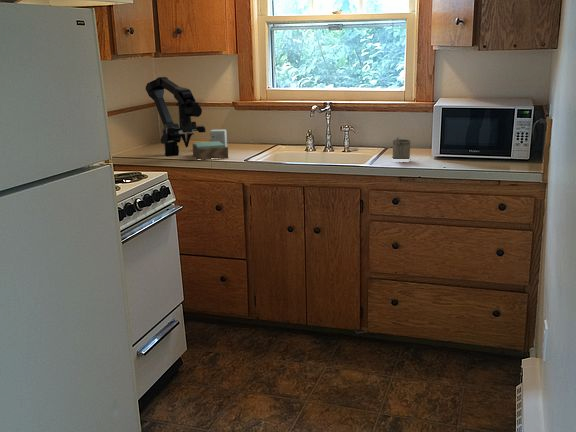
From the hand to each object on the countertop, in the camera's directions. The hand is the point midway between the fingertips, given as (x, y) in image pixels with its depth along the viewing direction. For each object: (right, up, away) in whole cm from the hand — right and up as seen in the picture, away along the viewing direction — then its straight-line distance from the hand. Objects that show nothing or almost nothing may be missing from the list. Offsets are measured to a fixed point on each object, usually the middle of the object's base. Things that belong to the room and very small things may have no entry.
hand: (186, 147), depth 310 cm
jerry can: (+103, -9, -14) cm, 104 cm away
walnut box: (+11, -4, +5) cm, 13 cm away
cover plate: (+11, +1, +3) cm, 11 cm away
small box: (+13, +1, +24) cm, 28 cm away
